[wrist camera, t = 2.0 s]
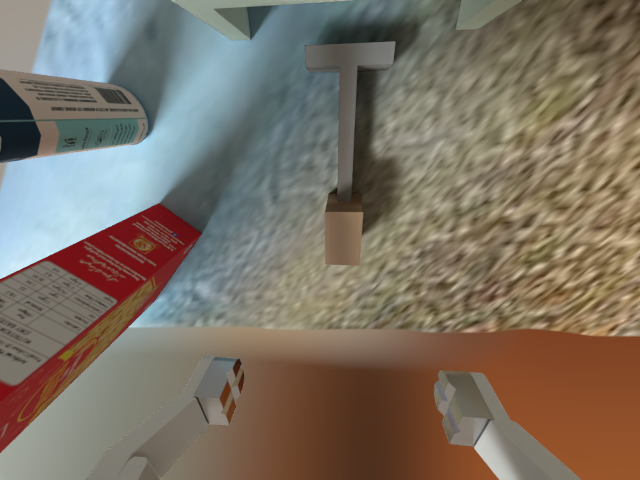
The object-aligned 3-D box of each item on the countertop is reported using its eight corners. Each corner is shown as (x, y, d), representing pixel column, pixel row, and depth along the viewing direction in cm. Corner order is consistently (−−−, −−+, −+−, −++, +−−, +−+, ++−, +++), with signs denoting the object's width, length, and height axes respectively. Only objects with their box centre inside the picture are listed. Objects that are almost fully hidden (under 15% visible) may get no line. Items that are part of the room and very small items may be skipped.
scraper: (389, 50, 18) (404, 29, 13) (371, 239, 25) (376, 266, 21) (309, 53, 18) (298, 34, 14) (315, 238, 26) (308, 263, 21)
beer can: (91, 82, 20) (-178, 47, 10) (144, 87, 20) (-72, 58, 10) (109, 141, 23) (-94, 164, 12) (157, 147, 23) (-7, 175, 12)
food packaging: (153, 302, 33) (-240, 689, 11) (116, 280, 31) (-419, 670, 9) (202, 233, 27) (-460, 787, 5) (159, 203, 25) (-1035, 774, 3)
